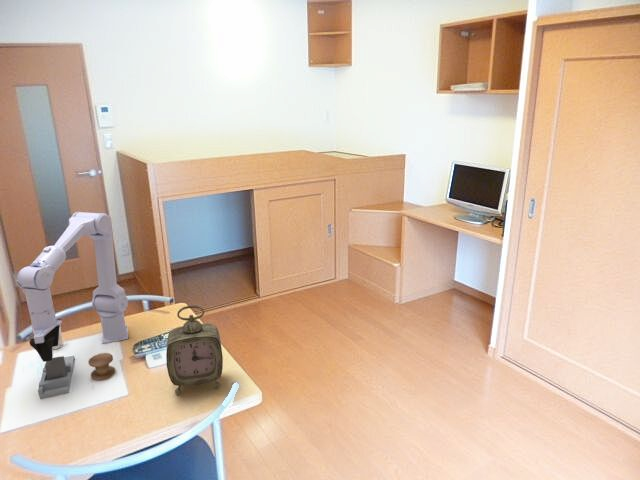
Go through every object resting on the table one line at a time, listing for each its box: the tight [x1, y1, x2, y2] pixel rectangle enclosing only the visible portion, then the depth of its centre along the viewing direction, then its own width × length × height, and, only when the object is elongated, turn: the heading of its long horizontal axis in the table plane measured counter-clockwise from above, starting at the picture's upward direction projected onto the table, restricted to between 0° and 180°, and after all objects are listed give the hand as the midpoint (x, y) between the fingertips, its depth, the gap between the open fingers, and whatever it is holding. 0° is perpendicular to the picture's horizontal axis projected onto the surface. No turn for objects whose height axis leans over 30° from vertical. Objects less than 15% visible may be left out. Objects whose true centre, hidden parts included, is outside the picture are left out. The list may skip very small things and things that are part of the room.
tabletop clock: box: [165, 304, 224, 395], centre depth 126 cm, size 14×9×25 cm, turn 105°
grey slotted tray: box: [37, 355, 76, 400], centre depth 133 cm, size 18×7×3 cm, turn 22°
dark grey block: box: [44, 355, 67, 380], centre depth 130 cm, size 4×4×6 cm
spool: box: [88, 352, 116, 381], centre depth 134 cm, size 6×6×5 cm
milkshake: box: [52, 326, 63, 350], centre depth 147 cm, size 5×5×10 cm
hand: (50, 353), depth 128 cm, fingers open, 7 cm apart
